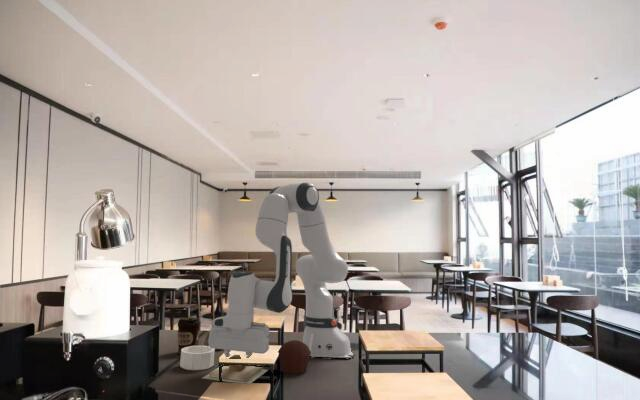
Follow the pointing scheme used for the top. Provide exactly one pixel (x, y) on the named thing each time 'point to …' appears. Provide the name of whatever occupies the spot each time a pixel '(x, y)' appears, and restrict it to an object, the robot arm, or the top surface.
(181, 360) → the bowl
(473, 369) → the top surface
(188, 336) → the coffee cup
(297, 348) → the muffin
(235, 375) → the lid
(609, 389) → the top surface
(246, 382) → the mat
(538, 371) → the top surface
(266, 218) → the robot arm
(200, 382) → the top surface
